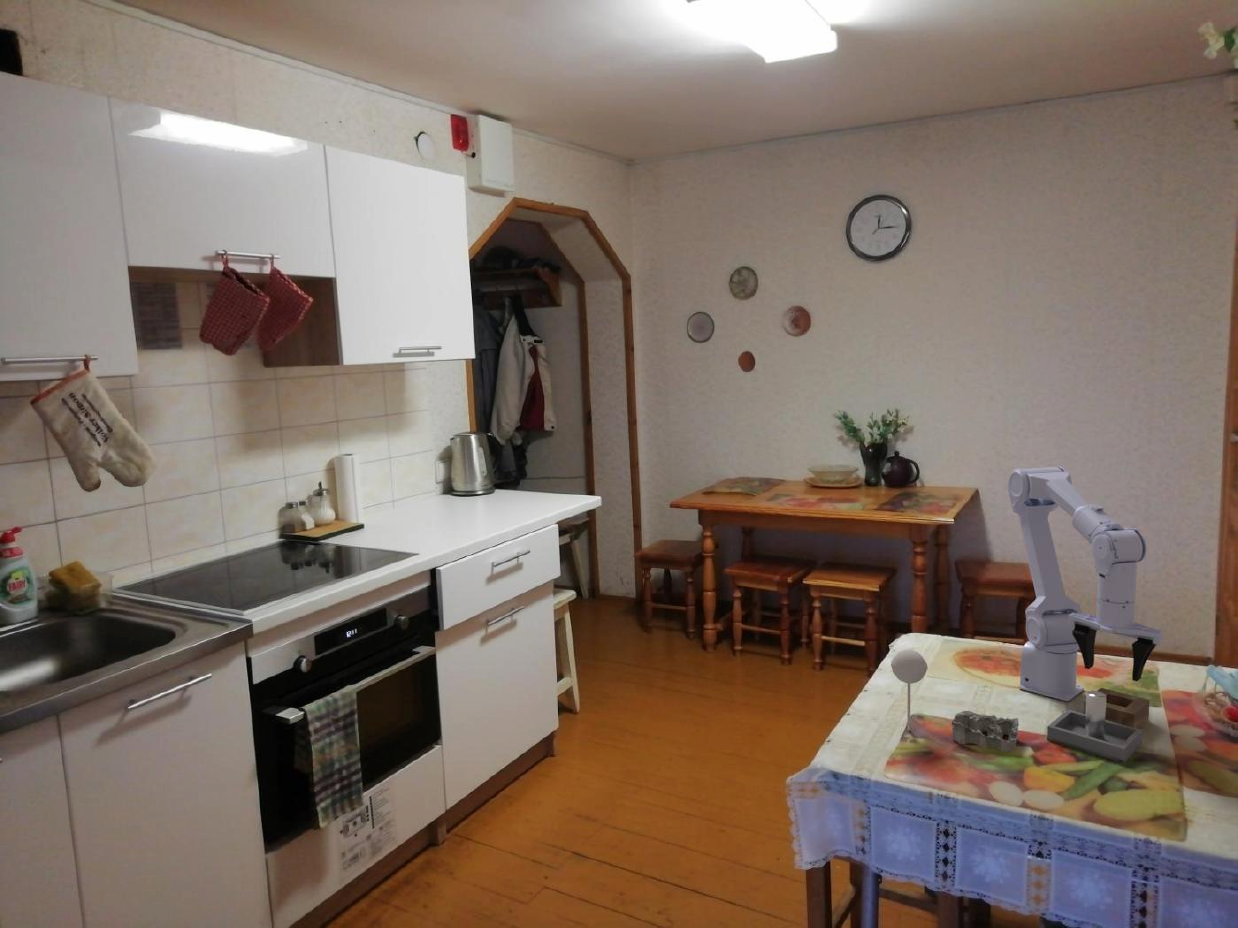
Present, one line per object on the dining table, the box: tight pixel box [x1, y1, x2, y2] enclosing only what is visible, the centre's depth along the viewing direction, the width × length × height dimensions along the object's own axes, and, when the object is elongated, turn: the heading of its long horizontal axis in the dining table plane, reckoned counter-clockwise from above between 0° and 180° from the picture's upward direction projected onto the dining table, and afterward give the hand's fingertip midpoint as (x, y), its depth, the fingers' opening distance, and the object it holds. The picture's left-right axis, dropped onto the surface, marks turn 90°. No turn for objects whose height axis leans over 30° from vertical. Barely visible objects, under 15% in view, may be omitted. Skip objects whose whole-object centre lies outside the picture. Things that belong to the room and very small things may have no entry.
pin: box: [1085, 690, 1106, 741], centre depth 146 cm, size 3×3×8 cm
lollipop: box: [890, 649, 929, 732], centre depth 153 cm, size 6×6×15 cm
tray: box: [1046, 709, 1144, 764], centre depth 146 cm, size 12×9×2 cm
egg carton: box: [951, 710, 1020, 753], centre depth 149 cm, size 11×8×4 cm
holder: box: [1083, 687, 1151, 730], centre depth 153 cm, size 8×8×4 cm
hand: (1112, 673), depth 149 cm, fingers open, 7 cm apart
